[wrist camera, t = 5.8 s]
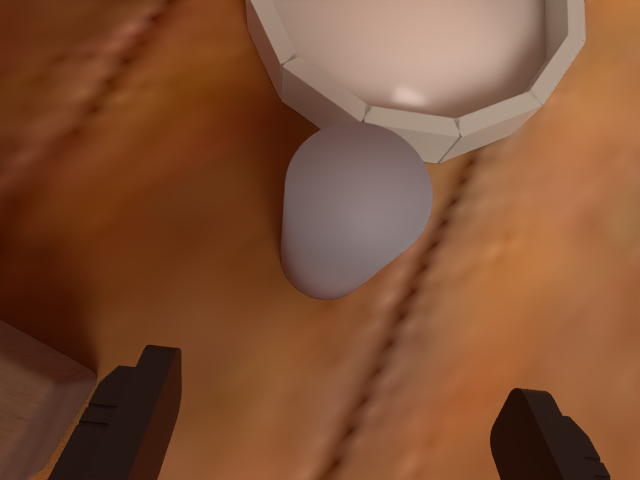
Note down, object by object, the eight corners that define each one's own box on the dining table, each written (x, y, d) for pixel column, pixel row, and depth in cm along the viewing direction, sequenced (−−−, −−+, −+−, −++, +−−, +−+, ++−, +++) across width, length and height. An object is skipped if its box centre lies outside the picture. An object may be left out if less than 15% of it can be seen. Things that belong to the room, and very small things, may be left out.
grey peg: (274, 293, 22) (275, 252, 13) (286, 204, 23) (294, 111, 14) (367, 305, 22) (428, 272, 13) (374, 216, 23) (435, 132, 14)
